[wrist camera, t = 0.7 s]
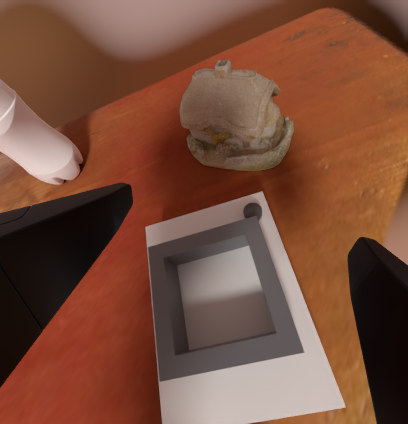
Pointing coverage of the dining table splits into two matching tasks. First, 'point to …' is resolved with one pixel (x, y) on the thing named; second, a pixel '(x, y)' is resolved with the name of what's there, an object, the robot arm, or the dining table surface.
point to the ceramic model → (234, 119)
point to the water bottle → (35, 141)
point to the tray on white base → (232, 320)
